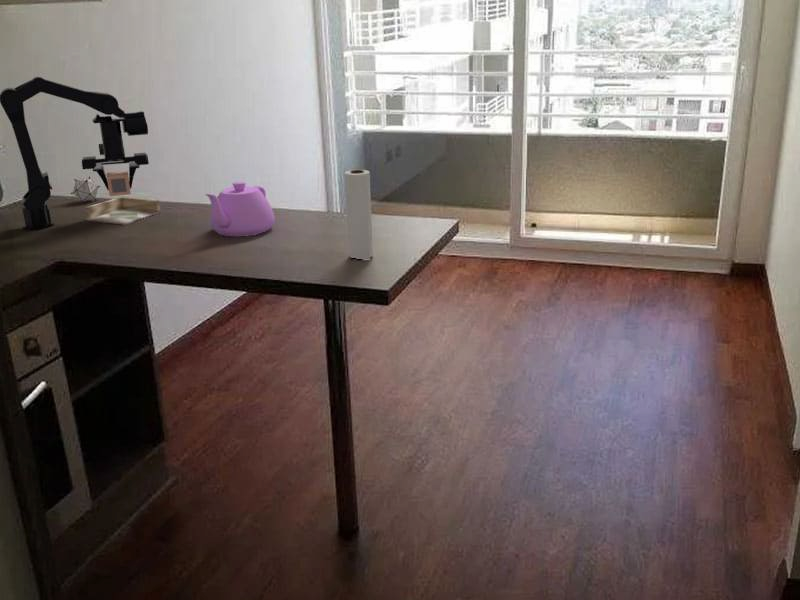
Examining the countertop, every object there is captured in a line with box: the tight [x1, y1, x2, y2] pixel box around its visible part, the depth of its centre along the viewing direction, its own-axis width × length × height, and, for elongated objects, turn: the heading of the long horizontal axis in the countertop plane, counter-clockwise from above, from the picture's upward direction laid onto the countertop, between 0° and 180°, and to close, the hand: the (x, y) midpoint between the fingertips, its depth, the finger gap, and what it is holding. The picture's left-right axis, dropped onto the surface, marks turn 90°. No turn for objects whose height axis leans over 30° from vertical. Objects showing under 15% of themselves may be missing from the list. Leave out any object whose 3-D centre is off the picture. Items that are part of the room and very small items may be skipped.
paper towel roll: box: [344, 169, 374, 259], centre depth 193 cm, size 7×6×21 cm
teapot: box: [205, 181, 276, 237], centre depth 222 cm, size 25×18×14 cm
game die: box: [70, 176, 101, 204], centre depth 263 cm, size 9×8×10 cm
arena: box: [84, 196, 161, 226], centre depth 243 cm, size 15×15×4 cm
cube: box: [106, 170, 132, 197], centre depth 240 cm, size 6×6×6 cm
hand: (119, 189), depth 241 cm, fingers closed on cube, 6 cm apart
